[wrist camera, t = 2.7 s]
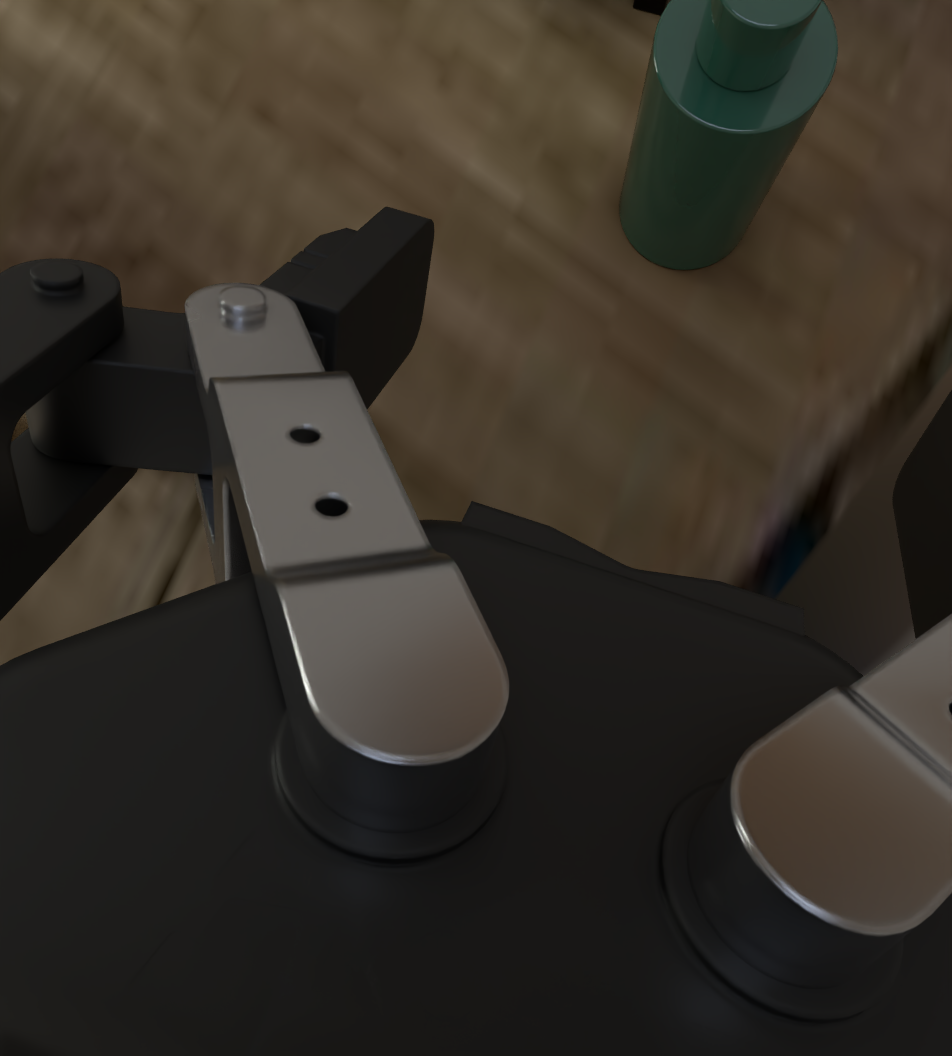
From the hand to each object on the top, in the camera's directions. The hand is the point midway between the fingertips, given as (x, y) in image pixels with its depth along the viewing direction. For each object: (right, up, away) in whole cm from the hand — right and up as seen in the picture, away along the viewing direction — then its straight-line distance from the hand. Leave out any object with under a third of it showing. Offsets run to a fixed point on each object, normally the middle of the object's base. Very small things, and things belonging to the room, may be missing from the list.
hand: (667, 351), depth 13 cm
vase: (+5, +9, +18) cm, 21 cm away
